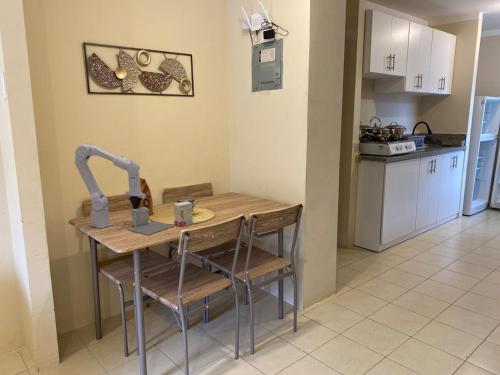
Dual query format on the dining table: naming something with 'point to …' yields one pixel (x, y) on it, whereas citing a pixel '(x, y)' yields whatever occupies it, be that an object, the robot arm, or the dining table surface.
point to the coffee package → (148, 200)
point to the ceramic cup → (188, 199)
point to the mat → (151, 228)
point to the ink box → (183, 214)
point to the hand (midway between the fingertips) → (136, 210)
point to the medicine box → (139, 216)
